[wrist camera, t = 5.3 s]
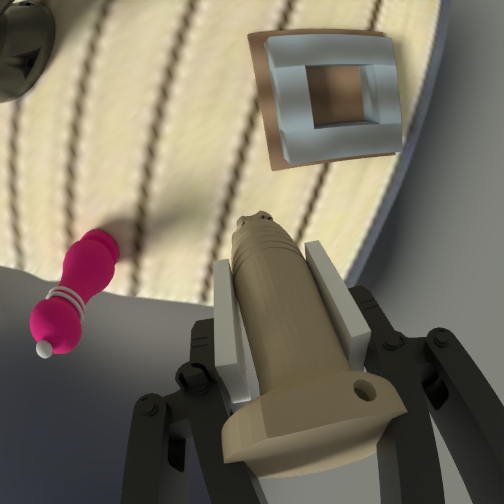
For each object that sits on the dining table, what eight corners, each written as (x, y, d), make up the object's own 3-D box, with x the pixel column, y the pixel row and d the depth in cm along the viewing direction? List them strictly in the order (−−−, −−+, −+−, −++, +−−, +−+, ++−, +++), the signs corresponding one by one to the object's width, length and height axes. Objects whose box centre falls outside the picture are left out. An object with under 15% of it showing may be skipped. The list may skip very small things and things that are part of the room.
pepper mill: (114, 222, 36) (49, 327, 18) (128, 267, 39) (86, 380, 22) (71, 230, 35) (-1, 327, 18) (88, 272, 39) (36, 376, 22)
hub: (247, 35, 26) (251, 25, 21) (379, 33, 26) (399, 28, 21) (271, 169, 34) (279, 180, 30) (391, 153, 34) (411, 162, 30)
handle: (219, 186, 18) (256, 424, 5) (310, 211, 20) (443, 399, 7) (201, 251, 20) (207, 479, 7) (285, 268, 22) (362, 463, 9)
